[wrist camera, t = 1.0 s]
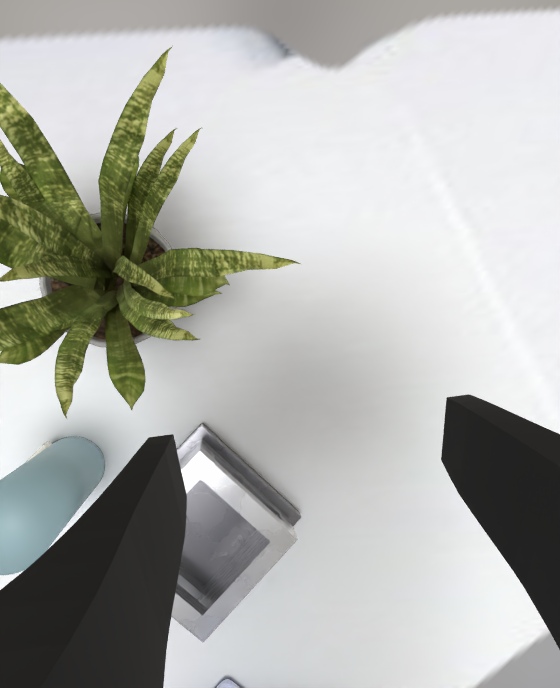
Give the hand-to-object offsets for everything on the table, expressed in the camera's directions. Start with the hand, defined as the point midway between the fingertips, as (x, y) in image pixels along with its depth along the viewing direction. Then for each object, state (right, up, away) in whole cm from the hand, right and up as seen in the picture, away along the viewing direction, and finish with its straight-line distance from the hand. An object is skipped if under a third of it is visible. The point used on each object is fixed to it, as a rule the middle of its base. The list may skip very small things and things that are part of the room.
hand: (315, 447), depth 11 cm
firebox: (-6, -10, +18) cm, 21 cm away
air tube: (-15, -5, +17) cm, 23 cm away
